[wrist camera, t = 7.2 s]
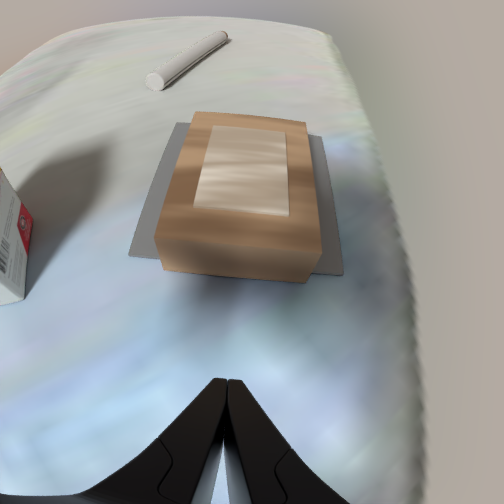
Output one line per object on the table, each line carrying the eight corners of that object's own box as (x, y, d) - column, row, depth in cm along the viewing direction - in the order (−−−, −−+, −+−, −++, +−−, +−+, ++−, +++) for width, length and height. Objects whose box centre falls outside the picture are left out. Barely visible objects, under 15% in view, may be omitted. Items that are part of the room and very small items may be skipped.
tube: (214, 42, 48) (146, 91, 35) (215, 29, 46) (144, 72, 32) (228, 43, 48) (164, 93, 35) (229, 30, 45) (163, 74, 32)
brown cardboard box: (323, 251, 17) (306, 120, 25) (153, 235, 17) (195, 109, 24) (305, 283, 21) (297, 154, 28) (163, 270, 20) (196, 145, 28)
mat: (342, 275, 22) (343, 273, 22) (129, 256, 21) (128, 254, 21) (320, 138, 31) (321, 136, 31) (176, 124, 30) (176, 122, 30)
